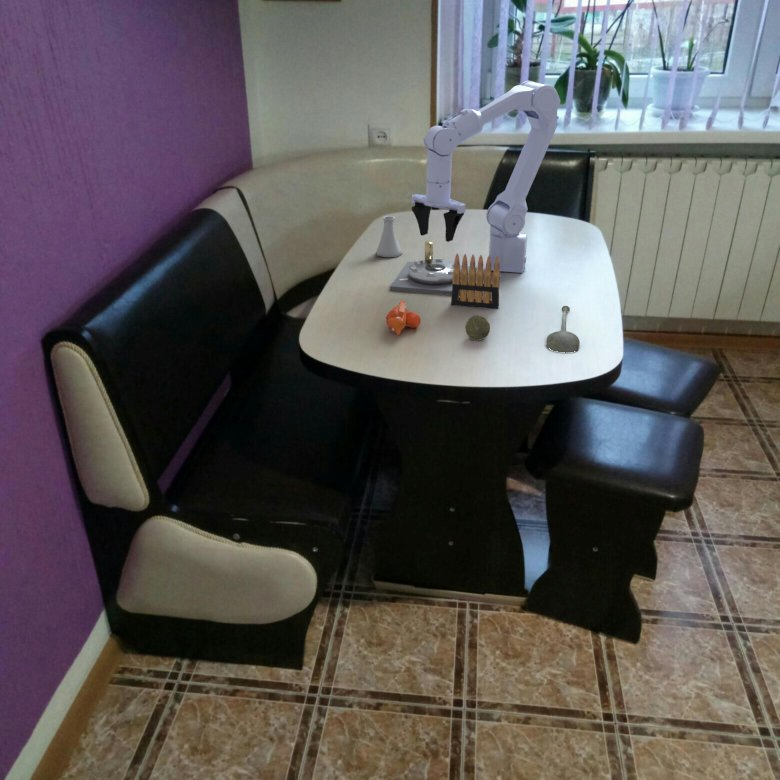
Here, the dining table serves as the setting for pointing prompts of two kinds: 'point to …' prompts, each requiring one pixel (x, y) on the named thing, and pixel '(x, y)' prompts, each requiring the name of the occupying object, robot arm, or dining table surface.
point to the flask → (388, 240)
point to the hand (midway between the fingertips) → (436, 237)
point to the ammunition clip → (476, 284)
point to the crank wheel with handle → (432, 268)
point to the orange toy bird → (401, 318)
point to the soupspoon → (563, 337)
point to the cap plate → (420, 284)
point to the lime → (477, 327)
